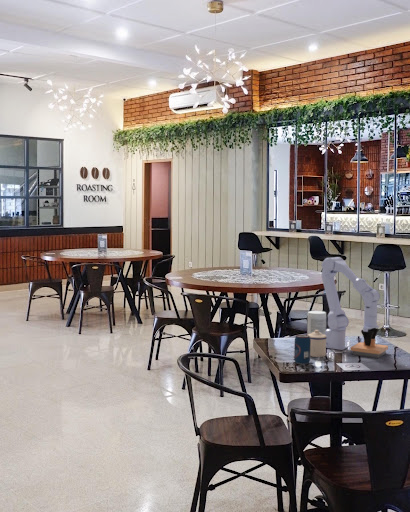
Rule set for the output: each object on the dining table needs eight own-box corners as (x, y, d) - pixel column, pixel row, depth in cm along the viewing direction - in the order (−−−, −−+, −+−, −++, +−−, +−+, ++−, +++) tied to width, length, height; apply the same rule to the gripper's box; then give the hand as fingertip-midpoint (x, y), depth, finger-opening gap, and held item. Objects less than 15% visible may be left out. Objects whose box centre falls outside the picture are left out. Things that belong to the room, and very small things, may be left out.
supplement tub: (329, 341, 326) (330, 312, 325) (316, 343, 321) (316, 314, 320) (316, 338, 334) (317, 310, 333) (303, 339, 329) (303, 311, 328)
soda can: (291, 361, 282) (291, 334, 281) (305, 360, 285) (305, 333, 284) (298, 365, 276) (299, 337, 275) (313, 364, 278) (313, 336, 277)
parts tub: (352, 354, 297) (352, 348, 297) (360, 350, 307) (361, 343, 307) (378, 358, 290) (378, 351, 290) (385, 353, 301) (386, 347, 300)
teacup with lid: (326, 353, 298) (327, 328, 298) (325, 358, 290) (326, 332, 289) (300, 351, 301) (301, 327, 301) (298, 356, 293) (299, 330, 292)
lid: (350, 350, 296) (350, 339, 296) (359, 345, 308) (360, 334, 308) (379, 354, 289) (379, 343, 289) (388, 349, 301) (388, 338, 300)
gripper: (374, 318, 289) (373, 348, 290) (383, 314, 301) (382, 343, 302) (359, 317, 293) (358, 346, 294) (369, 313, 305) (368, 341, 306)
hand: (369, 344), depth 298 cm, fingers open, 5 cm apart
